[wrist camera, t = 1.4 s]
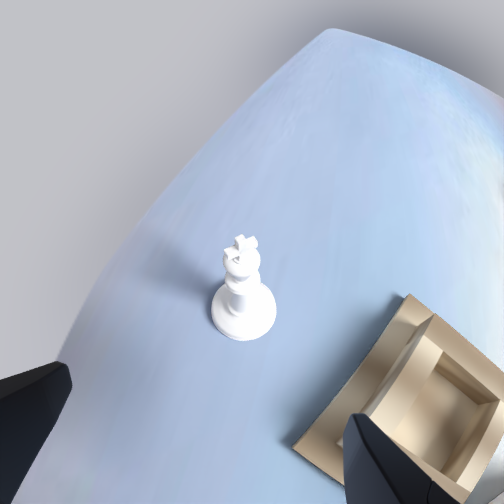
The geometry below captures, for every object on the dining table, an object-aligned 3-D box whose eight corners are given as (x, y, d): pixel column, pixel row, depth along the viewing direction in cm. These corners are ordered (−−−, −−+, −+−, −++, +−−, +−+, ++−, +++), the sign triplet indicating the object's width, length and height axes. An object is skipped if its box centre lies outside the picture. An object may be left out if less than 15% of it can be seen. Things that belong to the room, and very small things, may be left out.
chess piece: (288, 321, 24) (311, 256, 15) (230, 352, 23) (217, 304, 14) (256, 270, 26) (259, 186, 17) (200, 297, 25) (175, 223, 16)
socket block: (427, 534, 14) (452, 545, 11) (291, 447, 19) (299, 452, 16) (511, 389, 20) (540, 380, 16) (404, 298, 25) (426, 277, 21)
